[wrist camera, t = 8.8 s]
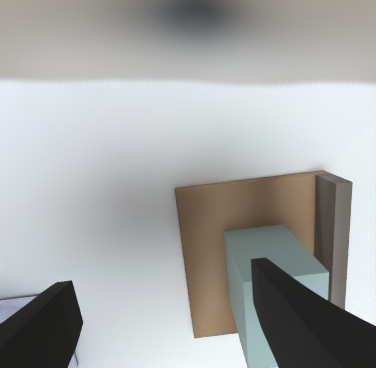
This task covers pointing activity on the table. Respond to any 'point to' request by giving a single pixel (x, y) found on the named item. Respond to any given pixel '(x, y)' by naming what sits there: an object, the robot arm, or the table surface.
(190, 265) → the shelf board
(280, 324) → the robot arm
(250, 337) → the carton
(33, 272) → the table surface
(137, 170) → the table surface
